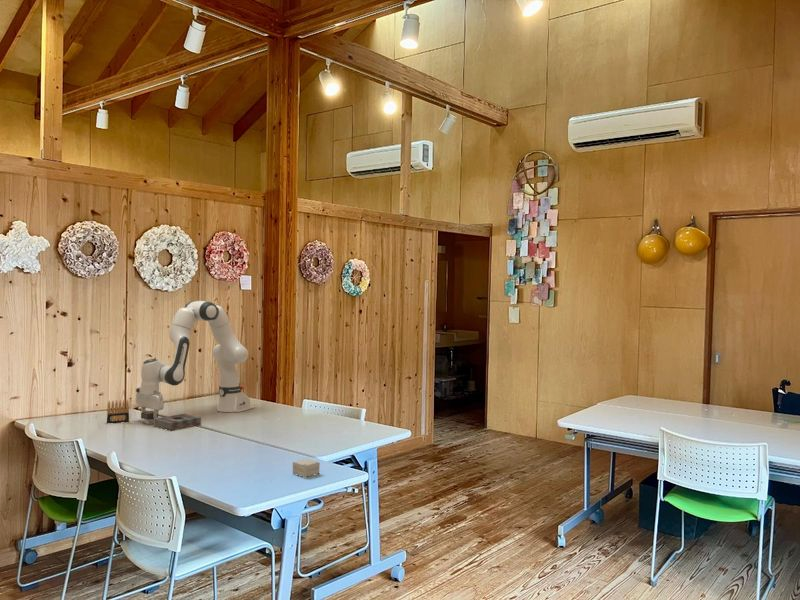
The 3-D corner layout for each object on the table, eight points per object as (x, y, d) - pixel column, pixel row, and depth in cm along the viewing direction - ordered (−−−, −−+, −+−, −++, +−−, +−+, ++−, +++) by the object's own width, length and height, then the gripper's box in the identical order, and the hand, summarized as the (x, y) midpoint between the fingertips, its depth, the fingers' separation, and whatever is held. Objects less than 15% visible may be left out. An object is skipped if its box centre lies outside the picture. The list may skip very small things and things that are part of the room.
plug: (152, 421, 337) (152, 410, 336) (158, 423, 333) (158, 412, 333) (140, 423, 331) (141, 412, 331) (146, 425, 328) (147, 414, 328)
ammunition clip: (128, 421, 335) (129, 399, 335) (129, 422, 334) (129, 399, 333) (106, 423, 330) (106, 400, 329) (107, 424, 328) (107, 401, 328)
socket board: (184, 421, 339) (184, 412, 339) (200, 425, 331) (200, 416, 331) (154, 426, 325) (154, 417, 325) (170, 431, 317) (170, 421, 316)
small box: (307, 470, 257) (307, 458, 257) (319, 474, 252) (320, 461, 252) (291, 474, 251) (292, 461, 251) (304, 478, 246) (305, 465, 246)
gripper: (167, 391, 328) (166, 418, 329) (144, 387, 340) (144, 412, 341) (156, 393, 323) (155, 420, 324) (133, 388, 335) (133, 414, 335)
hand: (149, 416), depth 332 cm, fingers open, 8 cm apart
